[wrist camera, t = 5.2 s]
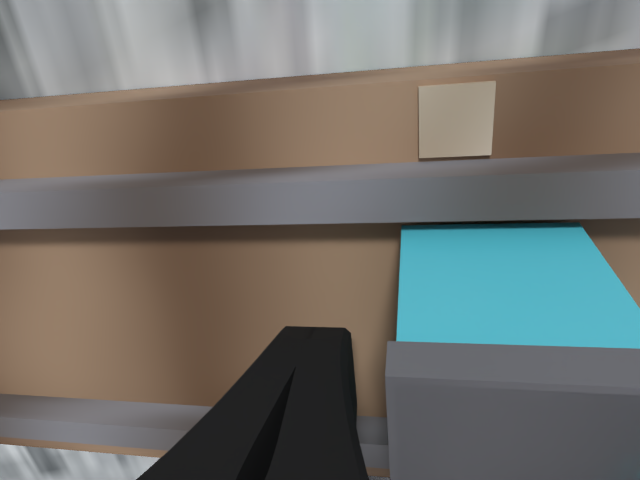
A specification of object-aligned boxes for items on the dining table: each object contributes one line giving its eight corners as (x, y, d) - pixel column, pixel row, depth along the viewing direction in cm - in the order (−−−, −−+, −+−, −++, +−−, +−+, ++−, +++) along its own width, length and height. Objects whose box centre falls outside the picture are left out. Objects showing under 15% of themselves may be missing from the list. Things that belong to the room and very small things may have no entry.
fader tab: (586, 217, 8) (717, 391, 5) (550, 431, 10) (618, 653, 7) (395, 220, 9) (385, 375, 5) (402, 422, 11) (397, 622, 8)
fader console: (757, 39, 8) (871, 56, 6) (637, 447, 13) (680, 535, 11) (-169, 114, 12) (-285, 139, 10) (-5, 404, 16) (-62, 462, 14)
